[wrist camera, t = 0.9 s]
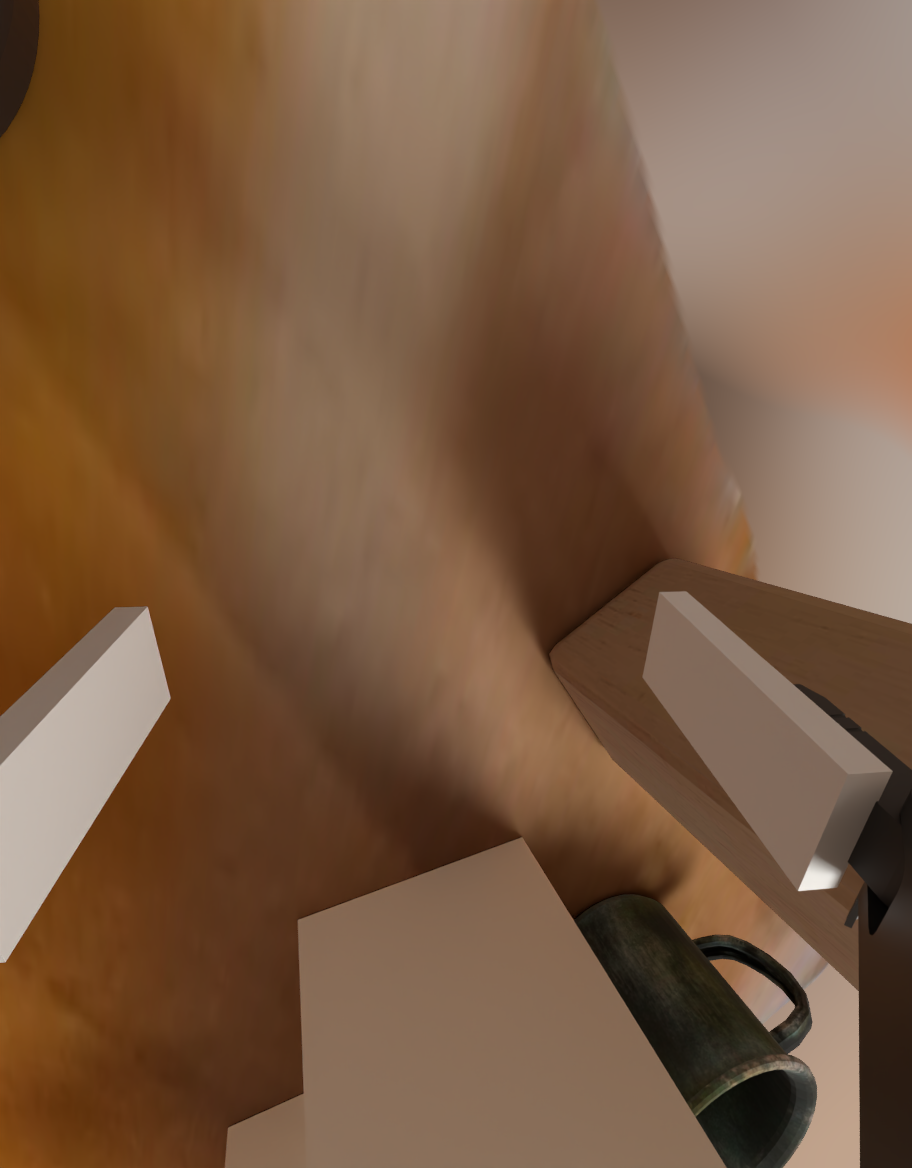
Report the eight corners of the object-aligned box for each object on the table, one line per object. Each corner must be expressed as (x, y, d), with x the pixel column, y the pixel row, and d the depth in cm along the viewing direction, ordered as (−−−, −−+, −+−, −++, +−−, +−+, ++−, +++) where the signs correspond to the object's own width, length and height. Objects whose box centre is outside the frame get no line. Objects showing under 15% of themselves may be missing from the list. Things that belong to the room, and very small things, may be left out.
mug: (519, 936, 36) (625, 1155, 25) (695, 835, 39) (861, 991, 28) (556, 1036, 39) (663, 1267, 28) (715, 937, 42) (869, 1110, 31)
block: (610, 760, 34) (988, 1121, 16) (536, 650, 31) (919, 954, 12) (723, 665, 36) (1200, 900, 17) (666, 547, 32) (1196, 686, 13)
